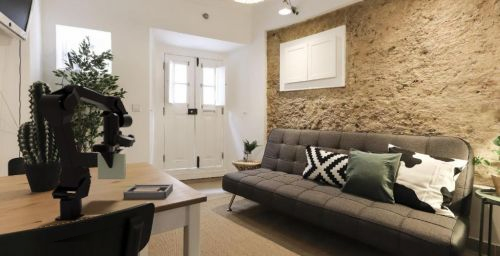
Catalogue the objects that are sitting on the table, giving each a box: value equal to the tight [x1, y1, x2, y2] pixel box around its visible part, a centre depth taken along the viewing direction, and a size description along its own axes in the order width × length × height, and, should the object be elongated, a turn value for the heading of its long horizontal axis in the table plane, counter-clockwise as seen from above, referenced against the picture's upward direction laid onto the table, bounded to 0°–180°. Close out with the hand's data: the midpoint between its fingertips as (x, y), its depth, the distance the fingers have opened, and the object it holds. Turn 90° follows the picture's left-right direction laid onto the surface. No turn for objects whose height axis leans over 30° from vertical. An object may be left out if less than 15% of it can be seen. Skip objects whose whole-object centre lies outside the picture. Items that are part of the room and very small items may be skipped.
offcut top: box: [133, 188, 160, 192], centre depth 107 cm, size 5×9×1 cm, turn 94°
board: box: [97, 153, 127, 180], centre depth 105 cm, size 2×10×10 cm, turn 94°
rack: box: [123, 183, 174, 200], centre depth 109 cm, size 12×16×3 cm
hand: (111, 167), depth 105 cm, fingers closed on board, 2 cm apart
